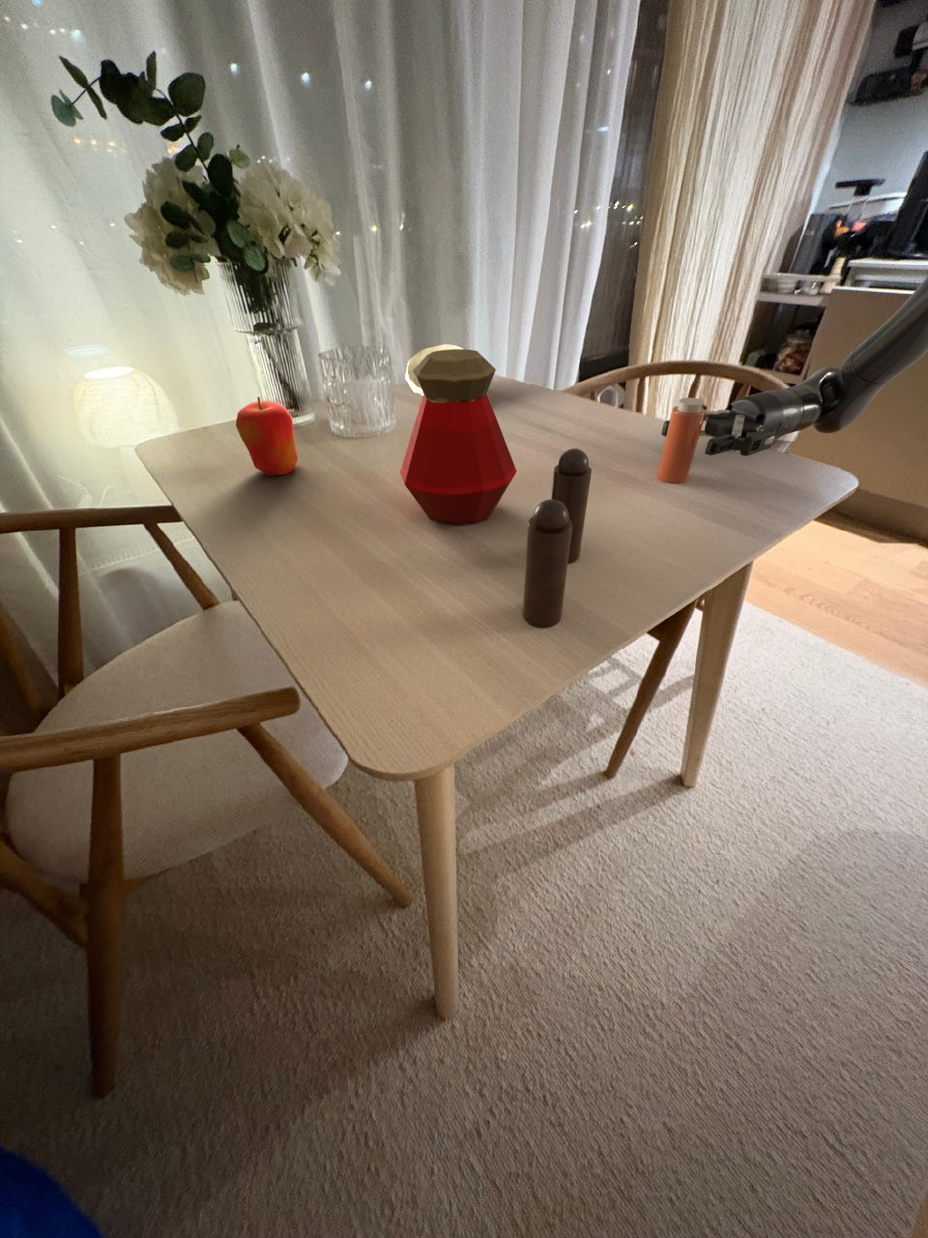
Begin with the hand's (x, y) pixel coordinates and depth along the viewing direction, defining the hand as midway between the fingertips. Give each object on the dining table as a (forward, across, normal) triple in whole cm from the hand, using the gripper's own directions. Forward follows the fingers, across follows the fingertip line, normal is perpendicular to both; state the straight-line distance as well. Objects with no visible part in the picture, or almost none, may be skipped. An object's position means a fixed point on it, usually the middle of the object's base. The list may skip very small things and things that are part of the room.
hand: (685, 438), depth 72 cm
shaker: (+1, 0, +6) cm, 6 cm away
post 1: (+36, +18, +6) cm, 41 cm away
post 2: (+28, +9, +6) cm, 30 cm away
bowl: (+15, -53, +6) cm, 55 cm away
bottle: (+34, -7, +6) cm, 35 cm away
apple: (+54, -35, +6) cm, 64 cm away
